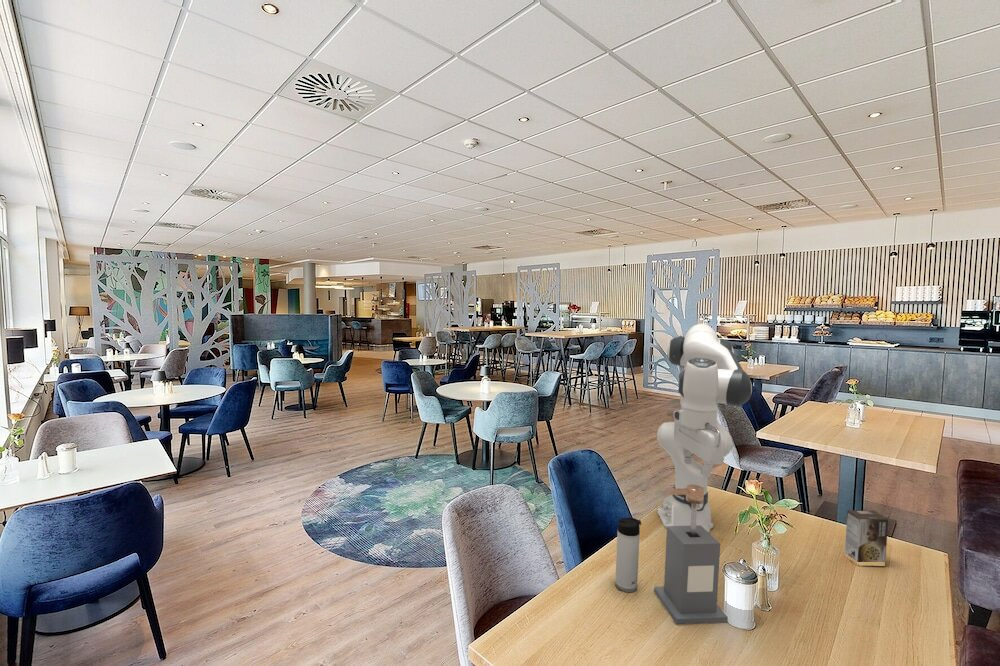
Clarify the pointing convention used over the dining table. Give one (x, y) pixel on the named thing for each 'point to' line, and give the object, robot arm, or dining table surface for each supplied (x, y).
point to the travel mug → (627, 554)
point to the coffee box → (866, 536)
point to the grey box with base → (691, 577)
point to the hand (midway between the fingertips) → (696, 469)
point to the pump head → (691, 501)
